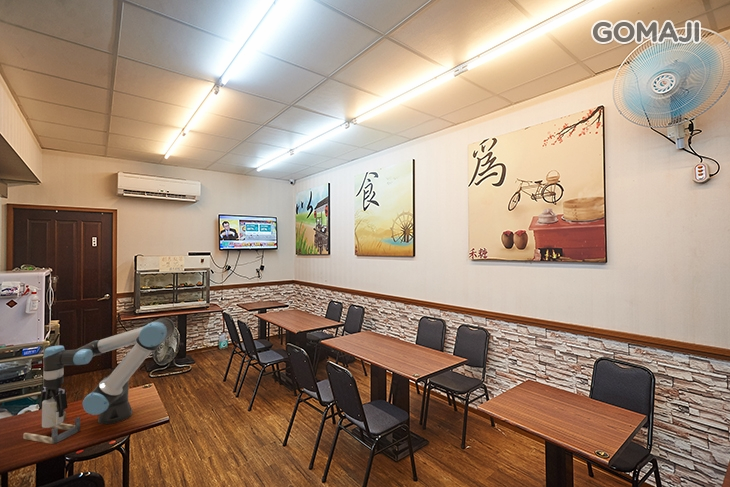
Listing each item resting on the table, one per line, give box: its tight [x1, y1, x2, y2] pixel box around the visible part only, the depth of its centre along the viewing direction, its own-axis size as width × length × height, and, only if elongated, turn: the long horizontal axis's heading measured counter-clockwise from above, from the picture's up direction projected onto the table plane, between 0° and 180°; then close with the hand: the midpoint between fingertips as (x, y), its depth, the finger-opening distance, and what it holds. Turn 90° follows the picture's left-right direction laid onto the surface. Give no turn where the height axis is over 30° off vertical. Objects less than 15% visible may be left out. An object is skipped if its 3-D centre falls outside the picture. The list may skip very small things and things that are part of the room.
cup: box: [41, 398, 65, 429], centre depth 169 cm, size 8×8×12 cm
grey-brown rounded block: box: [64, 409, 67, 421], centre depth 183 cm, size 7×4×7 cm, turn 77°
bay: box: [22, 416, 81, 445], centre depth 169 cm, size 20×12×7 cm, turn 77°
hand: (52, 421), depth 169 cm, fingers closed on cup, 8 cm apart
